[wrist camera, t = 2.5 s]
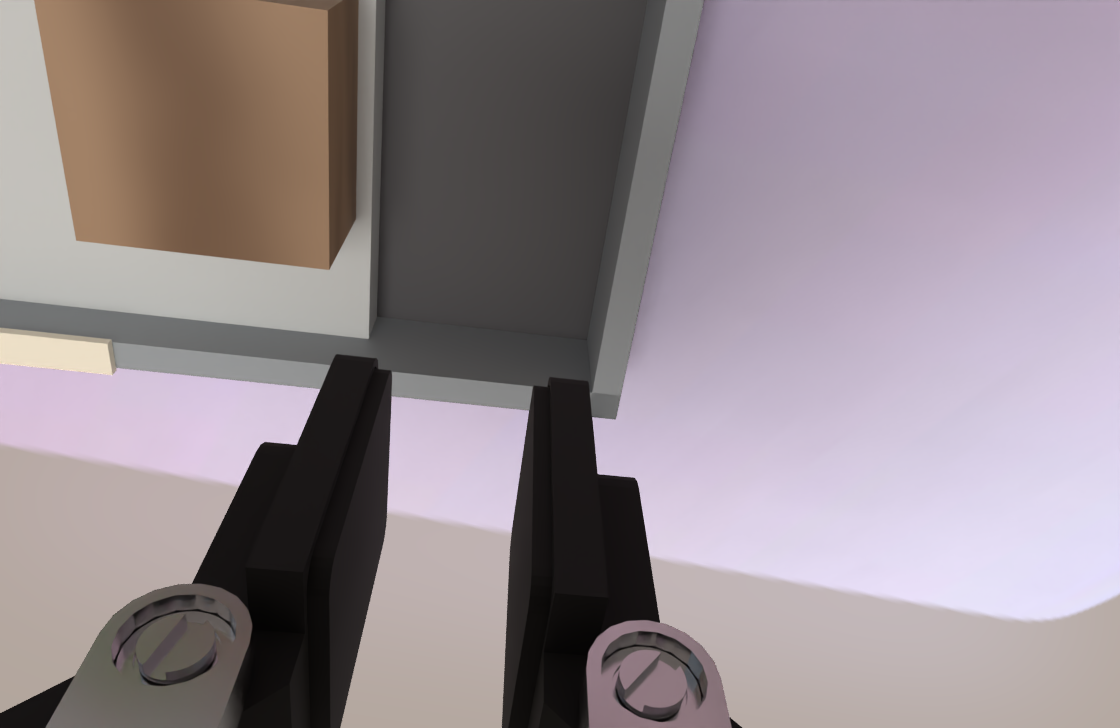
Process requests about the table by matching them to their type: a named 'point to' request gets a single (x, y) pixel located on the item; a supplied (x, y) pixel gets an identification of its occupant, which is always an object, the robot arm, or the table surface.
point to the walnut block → (207, 124)
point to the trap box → (392, 215)
